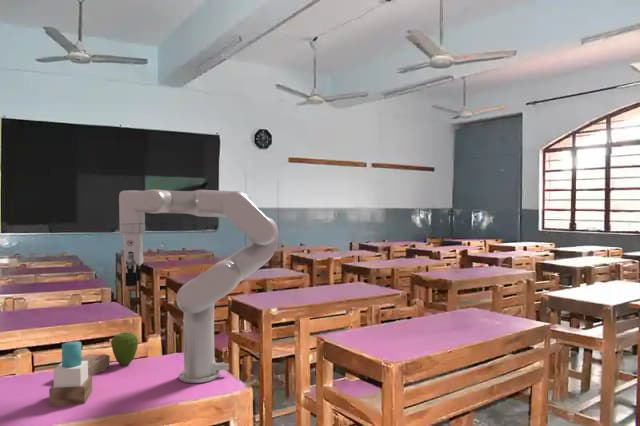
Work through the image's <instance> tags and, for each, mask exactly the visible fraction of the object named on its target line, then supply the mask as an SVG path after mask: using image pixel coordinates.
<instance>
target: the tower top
mask: <svg viewBox="0 0 640 426" xmlns="http://www.w3.org/2000/svg"><path fill="white" fill-rule="evenodd" d="M87 378H88V361H81V365H79V366H76V367H69V368H66V367H62V362H60V363H59V364H58V365H57V366H56V367H55V368H54V369H53V384H54V388H59V387H75V386H81V385H82V384H83V383H84V382H85V381H86V379H87Z"/></svg>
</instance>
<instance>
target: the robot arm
mask: <svg viewBox="0 0 640 426" xmlns="http://www.w3.org/2000/svg"><path fill="white" fill-rule="evenodd" d="M118 207H119V209H118V210H119V215H118V216H119V235H123V263H124V266H125V286H126V287H134V286H136V287H137V285H138V283H137V282H140V281H141V265H143V263H144V244H143V235H145V234H146V213H147V214H187V215H188V214H189V215H192V216H195V217H200V218H201V217H207V218H210V217H211V218H227V219H229V221H230V222H232V224H233V225H234V226H236V228H238V229H239V230H240V231H241V233H242V234H244V235H245V236H246V237H247V238H248V239H249V240H250V241H249V243H247V244H246V245H245V246H243V247H241V248H240V249H239V250H237V251H236V252H235V253H233V254H231V255H230V256H228V257H226V258H225V259H223V260H220V261H218V262H216V263H215V264H214V265H213V266H211V267H209V268H208V269H206V270H205V271H203V272H202V273H200V274H198V275H197V276H196V277H194V278H191V279H190V280H189V281H187V282H186V283H184V284H183V285H182V286H181V287H179V289H178V291H177V294H176V297H175V300H176V301H175V302H176V304H177V307H178V308H179V310H180V311H182V312H183V329H182V330H183V333H182V335H183V370H182V371H180V373H179V375H178V378H179V380H180V381H181V382H184V383H187V384H200V383H207V382H210V381H211V382H212V381H213V380H216V379H217V378H219V376H220V371H227V370H228V371H229V370H230V363H225V362H224V361H223V362H216V358H215V305H216V304H215V303H216V302H218V301H219V300H222V298H224V297H227V295H228V294H231V292H233V291H234V290H235V289H236V288H237V287H238V285H239V284H240V283H241V282H242V281H244V280H245V279H246V278H248V277H249V276H251V275H252V274H254V273H255V272H256V271H257V270H259V269H260V268H262V267H263V266H264V265H266V263H268V262H269V261H270V260H271V258H272V257H273V255H274V254H275V252H276V251H277V248H278V243H279V227H278V225H277V223H276V221H275V220H274V219H272V218H271V217H269V216H266V215H265V214H264V213H263V212H262V211H261V210H260V209H259V208H258V207H257V206H256V205H255V204H254V202H252V200H251V197H250V196H249V195H248V194H247V193H246V192H243V191H239V190H214V189H213V190H212V189H210V190H209V189H196V190H169V189H168V190H167V189H166V190H165V189H146V190H136V189H135V190H134V189H133V190H130V189H129V190H121V191H120V192H119V195H118Z"/></svg>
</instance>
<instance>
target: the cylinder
mask: <svg viewBox="0 0 640 426" xmlns="http://www.w3.org/2000/svg"><path fill="white" fill-rule="evenodd" d="M81 357H82V342H81V341H76V340H75V341H68V342H64V343H62V344H61V363H62V367H66V368H69V367H76V366H79V365H81Z"/></svg>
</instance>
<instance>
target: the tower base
mask: <svg viewBox="0 0 640 426" xmlns="http://www.w3.org/2000/svg"><path fill="white" fill-rule="evenodd" d="M48 391H49V392H48V393H49V394H48V395H49V398H48V399H49V400H48V401H49V407H61V406H70V405H81V404H86V403H87V401H88V399H89V397H90V396H91V394H92V393H93V376H88V378H87V379H86V381H85V382H84V383H83V384H82V385H81V386H75V387H59V388H54V383H53V385H52V386H50V388H49V390H48Z"/></svg>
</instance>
